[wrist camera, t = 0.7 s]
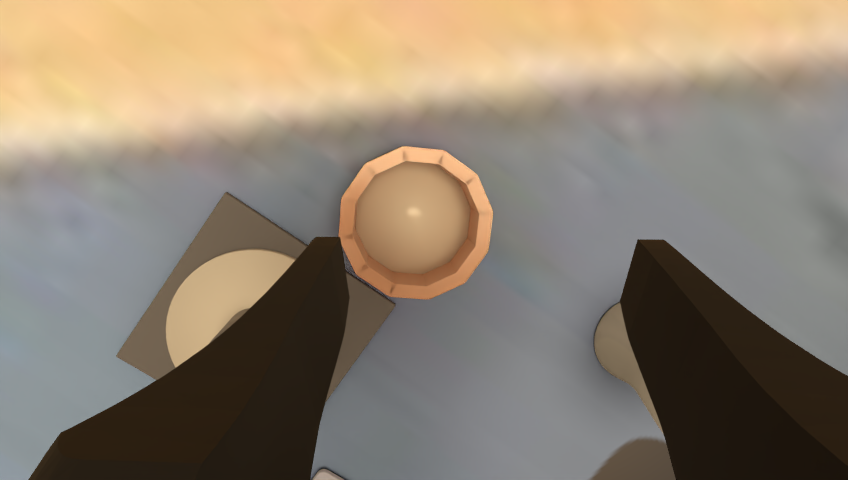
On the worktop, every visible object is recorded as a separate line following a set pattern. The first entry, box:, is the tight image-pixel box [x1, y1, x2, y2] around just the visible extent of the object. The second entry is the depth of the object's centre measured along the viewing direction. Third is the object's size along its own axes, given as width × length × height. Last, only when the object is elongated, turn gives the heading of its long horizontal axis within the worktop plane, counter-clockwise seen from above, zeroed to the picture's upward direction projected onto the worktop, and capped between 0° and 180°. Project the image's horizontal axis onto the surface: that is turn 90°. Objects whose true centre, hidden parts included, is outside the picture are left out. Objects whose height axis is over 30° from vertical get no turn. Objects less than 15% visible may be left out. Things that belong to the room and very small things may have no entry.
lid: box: [166, 249, 296, 368], centre depth 31 cm, size 11×11×5 cm
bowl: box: [339, 146, 493, 299], centre depth 32 cm, size 9×9×4 cm
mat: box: [116, 192, 395, 402], centre depth 34 cm, size 13×13×1 cm
